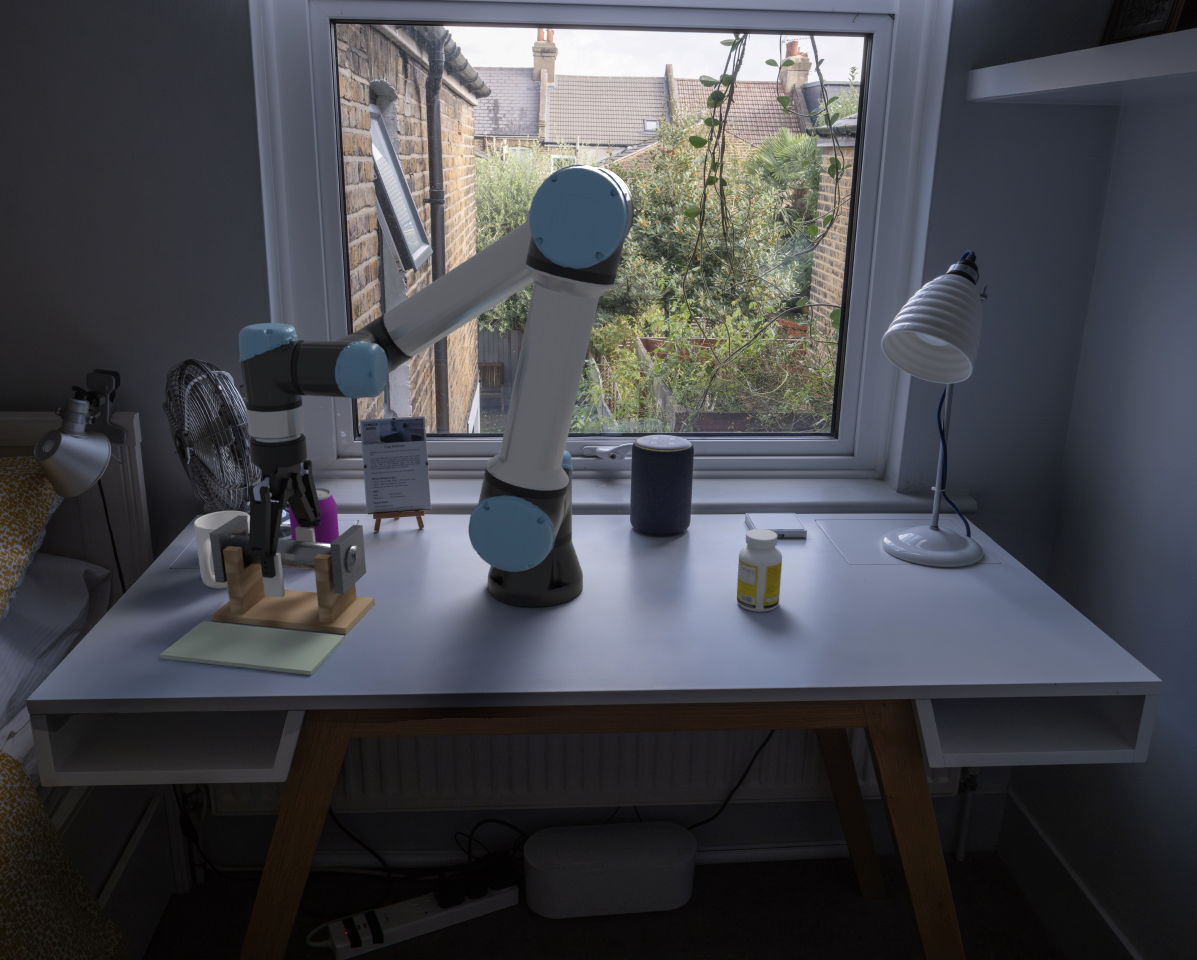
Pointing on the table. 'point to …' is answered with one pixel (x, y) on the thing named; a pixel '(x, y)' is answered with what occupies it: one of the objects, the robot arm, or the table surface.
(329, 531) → the beverage can
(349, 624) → the cradle
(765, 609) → the pill bottle
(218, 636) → the mat
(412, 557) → the table surface
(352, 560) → the rod
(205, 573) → the mug
